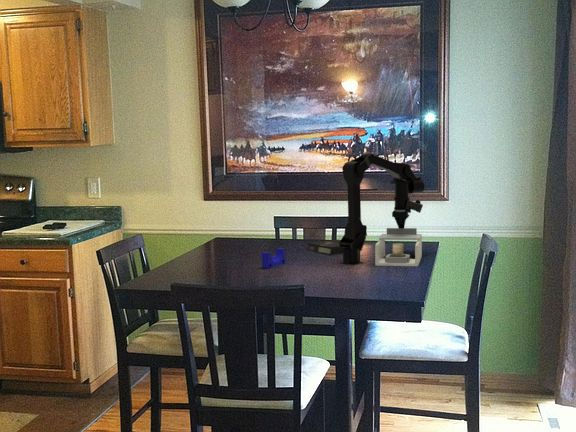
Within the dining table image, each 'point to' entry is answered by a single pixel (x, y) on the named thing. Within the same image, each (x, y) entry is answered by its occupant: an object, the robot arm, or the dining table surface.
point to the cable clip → (273, 258)
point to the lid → (401, 234)
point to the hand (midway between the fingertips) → (401, 232)
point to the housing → (396, 261)
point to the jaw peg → (397, 250)
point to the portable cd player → (326, 247)
